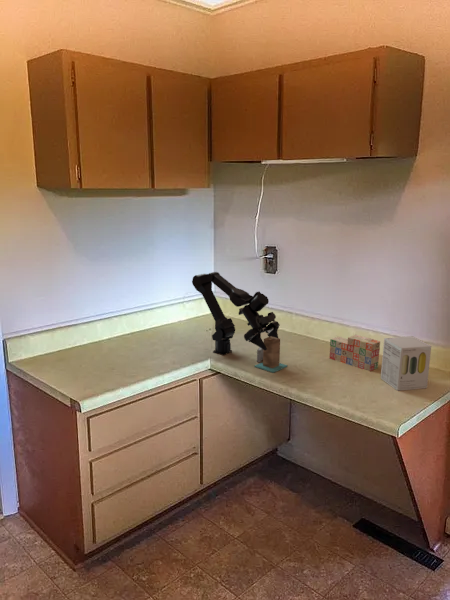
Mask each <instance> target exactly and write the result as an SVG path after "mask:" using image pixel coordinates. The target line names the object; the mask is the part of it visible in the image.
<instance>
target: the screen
mask: <svg viewBox="0 0 450 600" xmlns="http://www.w3.org/2000/svg"><path fill="white" fill-rule="evenodd" d="M256 350H257V351H256V362H257V363H262V362H263V349H262V348H260V347H258V349H256Z"/></svg>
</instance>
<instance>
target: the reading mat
mask: <svg viewBox="0 0 450 600" xmlns="http://www.w3.org/2000/svg"><path fill="white" fill-rule="evenodd" d="M254 368H257V369H260V370H263V371H267V372H269V371H270V373H274V374H275V373H277V372H278V371H280V370H283V369H286V368H288V364H284V363H280V362H279V366H277V367H275V368H269V367H266V366H263V361H261V362H259V363H257V364H255V365H254Z"/></svg>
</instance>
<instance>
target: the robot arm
mask: <svg viewBox="0 0 450 600" xmlns="http://www.w3.org/2000/svg"><path fill="white" fill-rule="evenodd" d="M191 283H192V286H193V287H194V289H195V290H196V291H198V293H200V294H201V295H202V297H203V299H204V301H205V303H206V305H207V307H208V310H209V311H210V313H211V315H212V318H213V320H214V322H215V323H214V329H215V331H214V333H213V334H211V337H212V338H211V339H212V340H213V341H214V342H215V343H214V346H215V347H214V350H212V352H213V353H216V354H219V355H224V356H225V355H227V354H229V353H232V352H233V350H232V349H231V345H232V344H231V343H232V342H231V339H233V337H234V335H235V333H236V327H235V326H236V325H235V323H234V322H233V320H232V318H231V317H230V318H227V317H226V316H225V314H224V311H223V310H222V308H221V306H220V303H219V302H218V299H217V298H216V296H215V294H214V291H213V285H215V286H216V287H217V288H218V289H220V290H221V291H222V292H223V293H224V294H226V295H227V296H228V297H229V301H230V302H231V303H232V304H233V305H234V306H235V307H237V308H238V309H239V311H238V316H240V315H243V316H244V318H245V320H246V321H247V326H250V327H251V328H250V329H248V330H247V332H245V333H244V334H243V338H244V340H245V342H249V343H251V344H254V346H255V345H256V346H257V347H258V348H262V349H263V350H267V348H266V346H265V344H264V340H263V339H262V336H261V335H262V334H263V333H266V334H267V337H270V336H272V337H276V338H279V334H278V331H279V328H280V325H281V324H280V323H279V322H278V321H276V319H277V318H276V317H277V316H276V314H275V313H274V312H273V311H271V312H268V313H267V315H265V316H264V315H263V314H259V312H261V311H262V310H263V309H264V308H265V307H266V306H268V304H269V302H270V301H269V298H268V297H267V296H266V295H265V294H263V293H262V292H260V291H256V292H255V293H254V294H253V295H251V294H250V293H249V292H247V291H246V290H244V289H240V288H238V287H236V286H234V285H233V284H232V283H231V282H229V280H227V279H226V278H225V277H223V276H222V275H221V274H220V273H219V272H218V271H212V272H209V273H201V274H195V275H194V276H193V277H192V280H191ZM239 307H241V308H239Z"/></svg>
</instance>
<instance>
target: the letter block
mask: <svg viewBox="0 0 450 600" xmlns="http://www.w3.org/2000/svg"><path fill="white" fill-rule="evenodd" d="M263 342H264V344H265V346H266V348H267V350H263V360H262V362H263V366H266V367H269V368H275V367H277V366H279V363H280V359H281V358H280V355H281V353H280V352H281V338H279V337H278V338H276V337H272V336H270V337H269V336H267V337H265V338H263Z"/></svg>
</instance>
